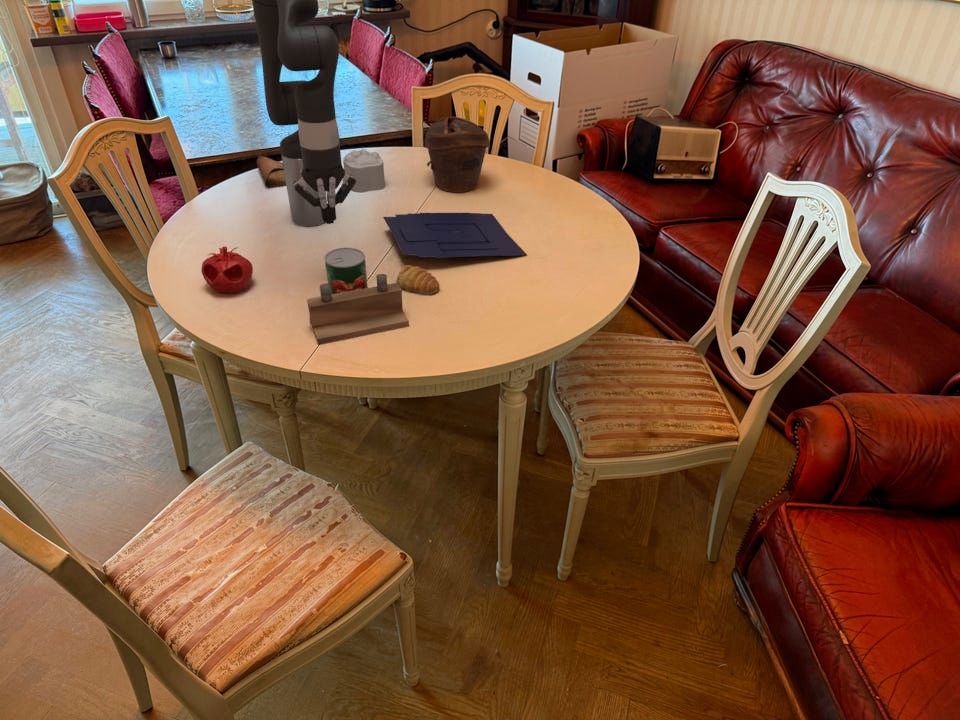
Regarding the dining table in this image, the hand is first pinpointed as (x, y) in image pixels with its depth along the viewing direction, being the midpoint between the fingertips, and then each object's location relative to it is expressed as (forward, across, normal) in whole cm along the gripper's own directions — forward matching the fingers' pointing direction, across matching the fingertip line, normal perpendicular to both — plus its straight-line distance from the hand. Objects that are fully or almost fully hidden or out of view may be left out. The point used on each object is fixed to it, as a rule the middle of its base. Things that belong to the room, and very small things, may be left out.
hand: (329, 222), depth 131 cm
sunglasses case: (+15, +4, -61) cm, 63 cm away
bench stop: (+12, 0, +22) cm, 25 cm away
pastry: (+12, -16, +12) cm, 23 cm away
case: (+14, -44, -39) cm, 60 cm away
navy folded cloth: (+13, -30, -5) cm, 33 cm away
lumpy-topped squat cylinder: (+14, -19, -48) cm, 53 cm away
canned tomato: (+12, 0, +14) cm, 18 cm away
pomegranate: (+13, +22, -2) cm, 25 cm away
